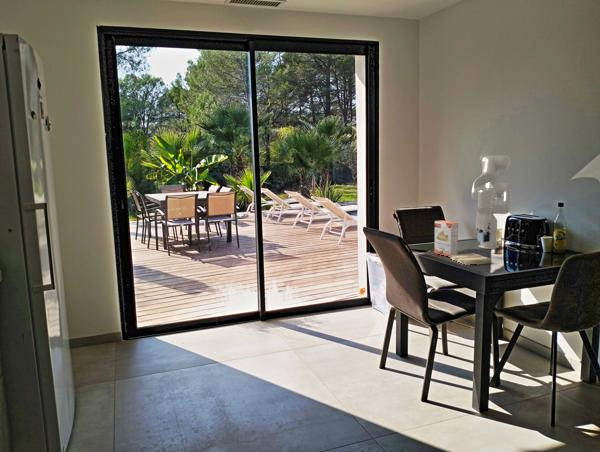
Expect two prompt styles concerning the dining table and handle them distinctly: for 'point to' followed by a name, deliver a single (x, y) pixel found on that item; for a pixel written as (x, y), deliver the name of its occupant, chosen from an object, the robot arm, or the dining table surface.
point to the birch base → (470, 259)
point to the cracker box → (446, 238)
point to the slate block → (481, 237)
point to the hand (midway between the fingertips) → (483, 240)
